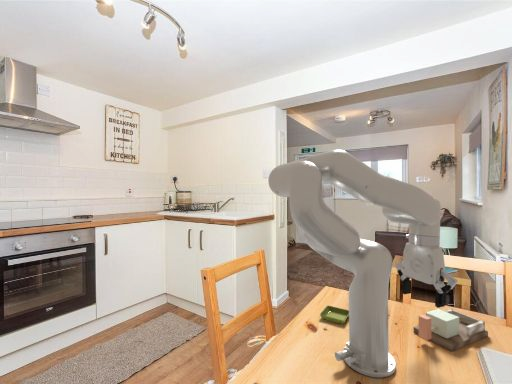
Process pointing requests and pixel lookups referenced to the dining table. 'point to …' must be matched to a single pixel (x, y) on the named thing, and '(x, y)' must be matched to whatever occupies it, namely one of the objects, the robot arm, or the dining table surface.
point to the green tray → (335, 314)
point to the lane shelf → (460, 332)
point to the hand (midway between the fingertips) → (422, 299)
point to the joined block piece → (438, 324)
